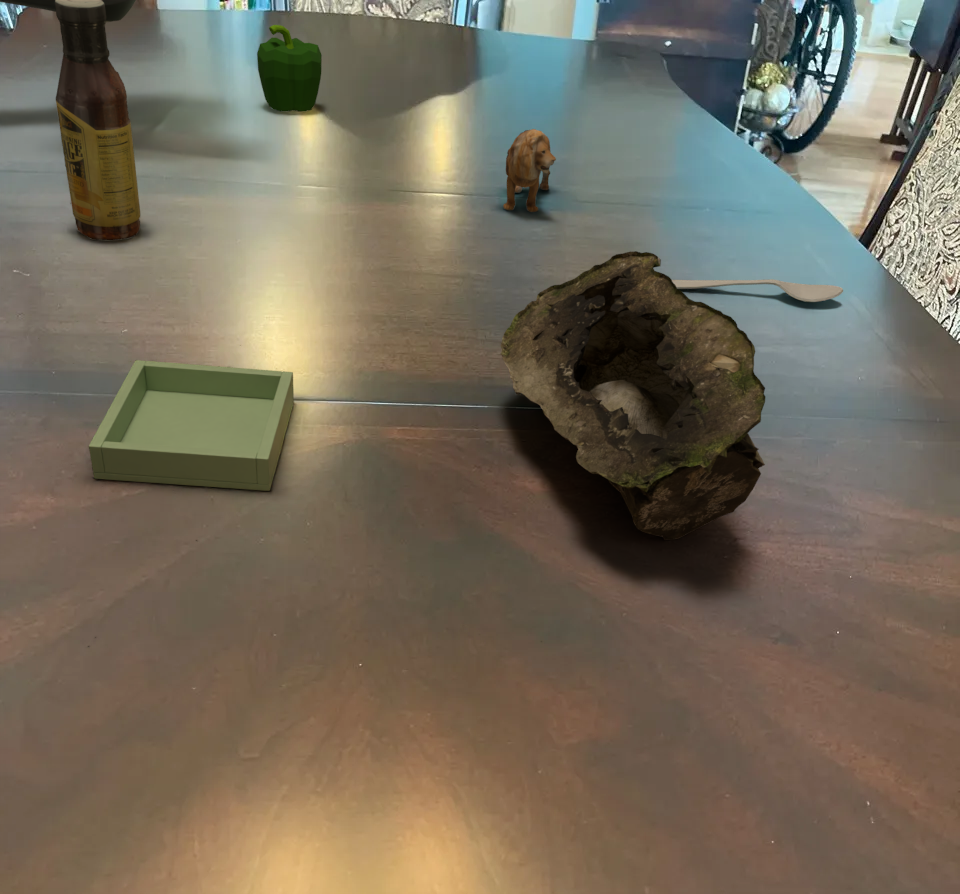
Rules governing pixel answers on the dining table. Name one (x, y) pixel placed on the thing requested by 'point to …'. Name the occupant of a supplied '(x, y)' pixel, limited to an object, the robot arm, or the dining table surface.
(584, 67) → the dining table surface
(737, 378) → the brown hollow wooden log
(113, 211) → the sauce bottle
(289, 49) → the bell pepper
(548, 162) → the lion figurine
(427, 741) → the dining table surface
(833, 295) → the spoon
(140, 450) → the green tray
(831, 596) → the dining table surface
